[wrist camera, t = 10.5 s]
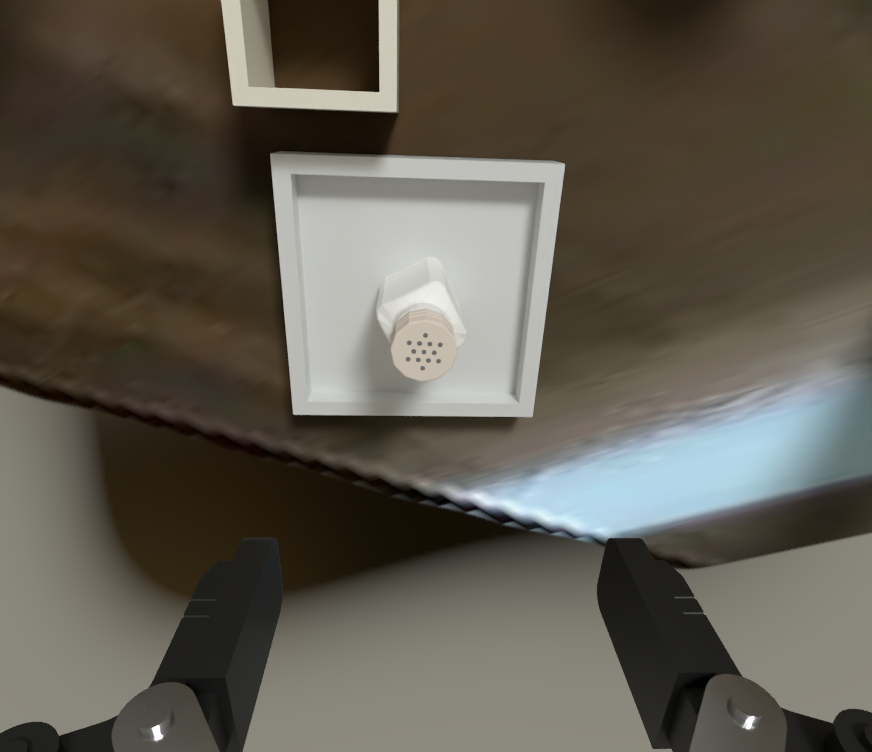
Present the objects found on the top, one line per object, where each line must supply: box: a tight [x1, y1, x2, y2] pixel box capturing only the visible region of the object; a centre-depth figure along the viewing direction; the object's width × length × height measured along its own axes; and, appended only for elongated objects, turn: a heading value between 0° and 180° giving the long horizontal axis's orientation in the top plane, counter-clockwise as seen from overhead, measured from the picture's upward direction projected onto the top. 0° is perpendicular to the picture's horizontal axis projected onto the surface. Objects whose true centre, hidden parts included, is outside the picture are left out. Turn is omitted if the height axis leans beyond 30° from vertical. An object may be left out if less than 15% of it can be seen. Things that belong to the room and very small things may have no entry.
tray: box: [270, 151, 565, 417], centre depth 34 cm, size 16×16×2 cm
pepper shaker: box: [376, 257, 467, 382], centre depth 30 cm, size 4×4×10 cm
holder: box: [221, 0, 399, 113], centre depth 26 cm, size 8×8×6 cm
